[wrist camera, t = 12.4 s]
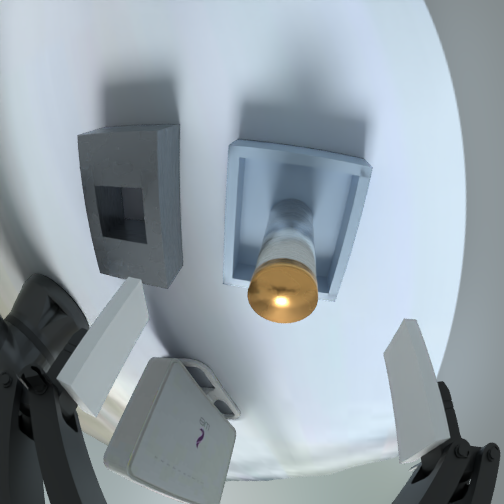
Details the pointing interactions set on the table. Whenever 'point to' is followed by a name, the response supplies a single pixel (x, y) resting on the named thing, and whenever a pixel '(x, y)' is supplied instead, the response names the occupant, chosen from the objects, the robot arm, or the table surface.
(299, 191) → the tray
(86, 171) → the grey socket block
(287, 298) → the steel pin
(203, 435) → the network device
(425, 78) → the table surface
